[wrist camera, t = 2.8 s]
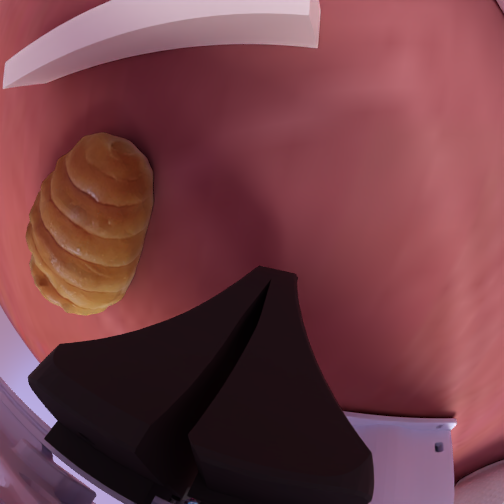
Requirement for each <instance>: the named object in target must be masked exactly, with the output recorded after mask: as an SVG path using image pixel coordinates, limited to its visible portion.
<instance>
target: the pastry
mask: <svg viewBox="0 0 504 504" xmlns="http://www.w3.org/2000/svg"><path fill="white" fill-rule="evenodd" d="M153 203H154V200H153V171H152V169H151V167H150V164H149V162H148V159H147V158H146V157H145V155H144V154H142V153H141V152H140V151H139V150H138V149H137V147H136V146H135V145H134V144H133V143H131V142H130V141H129V140H127V139H124V138H121V137H117V136H113V135H110V134H108V133H105V132H100V133H96V134H92V135H86V136H84V137H83V138H82V139H81V140H80V141H79V142H78V143H77V144H76V145H75V147H74V148H73V149H72V150H71V151H70V152H68V153H67V154H66V155H64V156H62V157H60V158H59V159H58V161H57V163H56V167H55V170H54V171H53V172H51V174H50V175H49V176H48V177H47V178H46V179H45V180H44V181H43V182H42V185H41V191H40V192H39V193H38V195H37V197H36V200H35V202H34V205H33V206H32V208H31V211H30V213H29V218H30V222H29V224H28V227H27V232H26V241H27V244H28V247H29V250H30V251H31V253H32V257H31V260H30V263H29V264H30V269H31V274H32V276H33V279H34V283H35V285H36V286H37V288H38V289H39V290H40V292H41V294H42V295H43V296H44V298H46V299H47V300H48V301H50V302H51V303H53V304H55V305H58V306H60V307H62V308H63V309H64V311H65V312H67V313H74V314H78V315H86V316H87V315H90V314H97V313H100V312H103V311H104V310H105V309H106V308H107V307H108V306H109V305H113V304H115V303H117V302H118V301H120V300H121V299H122V298H123V297H124V295H125V293H126V291H127V288H128V286H129V285H130V283H131V281H132V279H133V277H134V274H135V271H136V266H137V264H138V262H139V257H140V255H141V252H142V249H143V244H144V239H145V235H146V231H147V228H148V224H149V220H150V216H151V211H152V207H153Z"/></svg>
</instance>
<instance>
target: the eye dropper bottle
mask: <svg viewBox="0 0 504 504" xmlns="http://www.w3.org/2000/svg"><path fill="white" fill-rule="evenodd" d="M496 1H497V2H498V4H499V6H500V8H501V9H502V11H503V13H504V0H496Z"/></svg>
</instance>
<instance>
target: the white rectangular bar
mask: <svg viewBox="0 0 504 504" xmlns="http://www.w3.org/2000/svg"><path fill="white" fill-rule="evenodd" d="M320 14H321V10H320V5H319V0H111V1H109V2H106V3H104V4H102V5H99V6H97V7H95V8H93V9H90V10H88V11H86V12H84V13H82V14H80V15H78V16H76V17H74V18H72V19H71V20H69V21H67V22H65V23H63V24H61V25H60V26H58V27H56V28H55V29H53V30H51V31H50V32H48V33H46V34H45V35H43V36H41V37H40V38H38V39H37V40H35V41H34V42H32V43H31V44H29V45H28V46H27V47H25V48H24V49H22V50H21V51H20V52H18V53H17V54H16V55H14V56H13V57H12V58H10V59H9V60H8V61H6V62H5V70H4V79H3V89H6V88H12V87H19V86H27V85H36V84H46V83H48V82H51V81H53V80H56V79H58V78H61V77H63V76H66V75H69V74H72V73H75V72H78V71H81V70H84V69H87V68H90V67H93V66H97V65H100V64H104V63H107V62H111V61H115V60H119V59H123V58H127V57H132V56H136V55H141V54H147V53H152V52H158V51H164V50H171V49H178V48H186V47H196V46H208V45H226V44H269V45H288V46H300V47H309V48H318V41H319V28H320Z"/></svg>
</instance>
